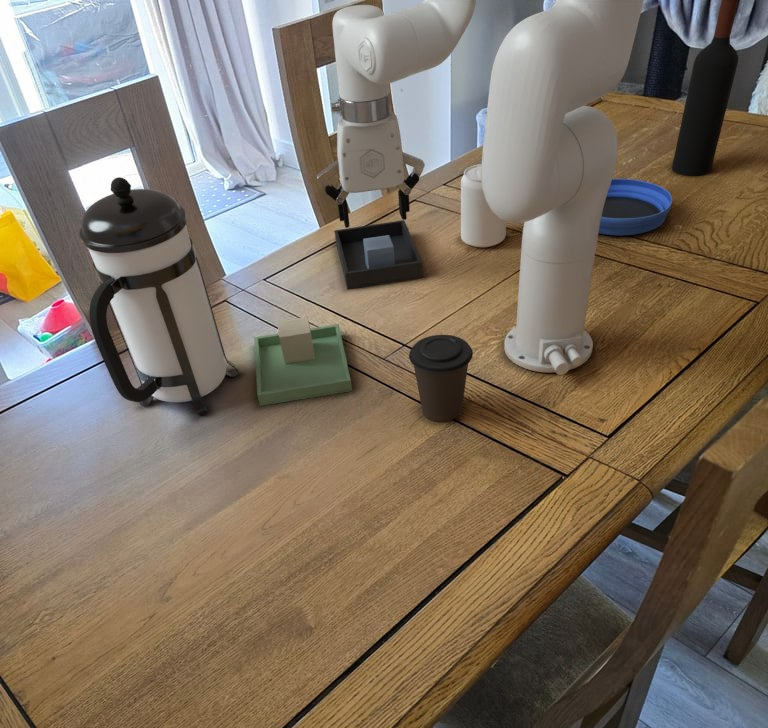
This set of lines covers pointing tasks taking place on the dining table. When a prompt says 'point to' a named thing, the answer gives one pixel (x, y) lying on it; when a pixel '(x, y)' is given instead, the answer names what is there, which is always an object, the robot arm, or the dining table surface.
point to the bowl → (634, 207)
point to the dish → (301, 368)
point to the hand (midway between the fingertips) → (374, 220)
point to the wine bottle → (707, 98)
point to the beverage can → (478, 213)
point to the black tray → (404, 268)
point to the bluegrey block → (378, 251)
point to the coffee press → (152, 297)
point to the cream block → (296, 340)
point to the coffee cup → (441, 375)
